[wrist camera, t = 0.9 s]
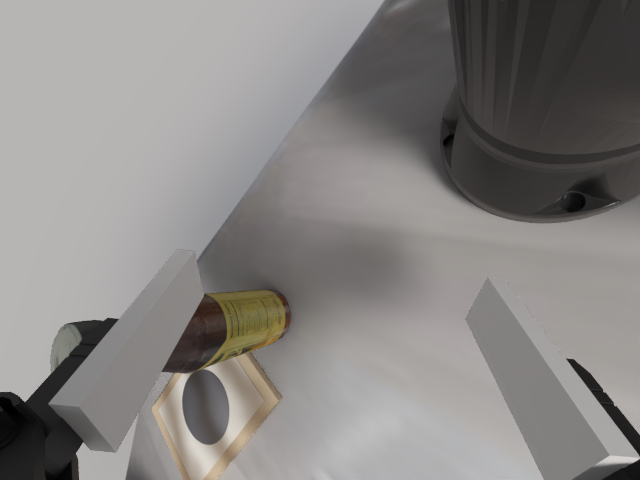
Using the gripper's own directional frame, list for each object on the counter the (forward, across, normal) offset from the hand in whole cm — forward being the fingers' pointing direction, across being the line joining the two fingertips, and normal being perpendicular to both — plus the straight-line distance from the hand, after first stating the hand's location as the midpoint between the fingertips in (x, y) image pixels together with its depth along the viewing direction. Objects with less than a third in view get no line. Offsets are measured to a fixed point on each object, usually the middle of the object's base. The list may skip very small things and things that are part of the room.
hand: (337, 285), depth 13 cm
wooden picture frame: (+9, -14, -31) cm, 35 cm away
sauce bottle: (+13, -6, -18) cm, 23 cm away
